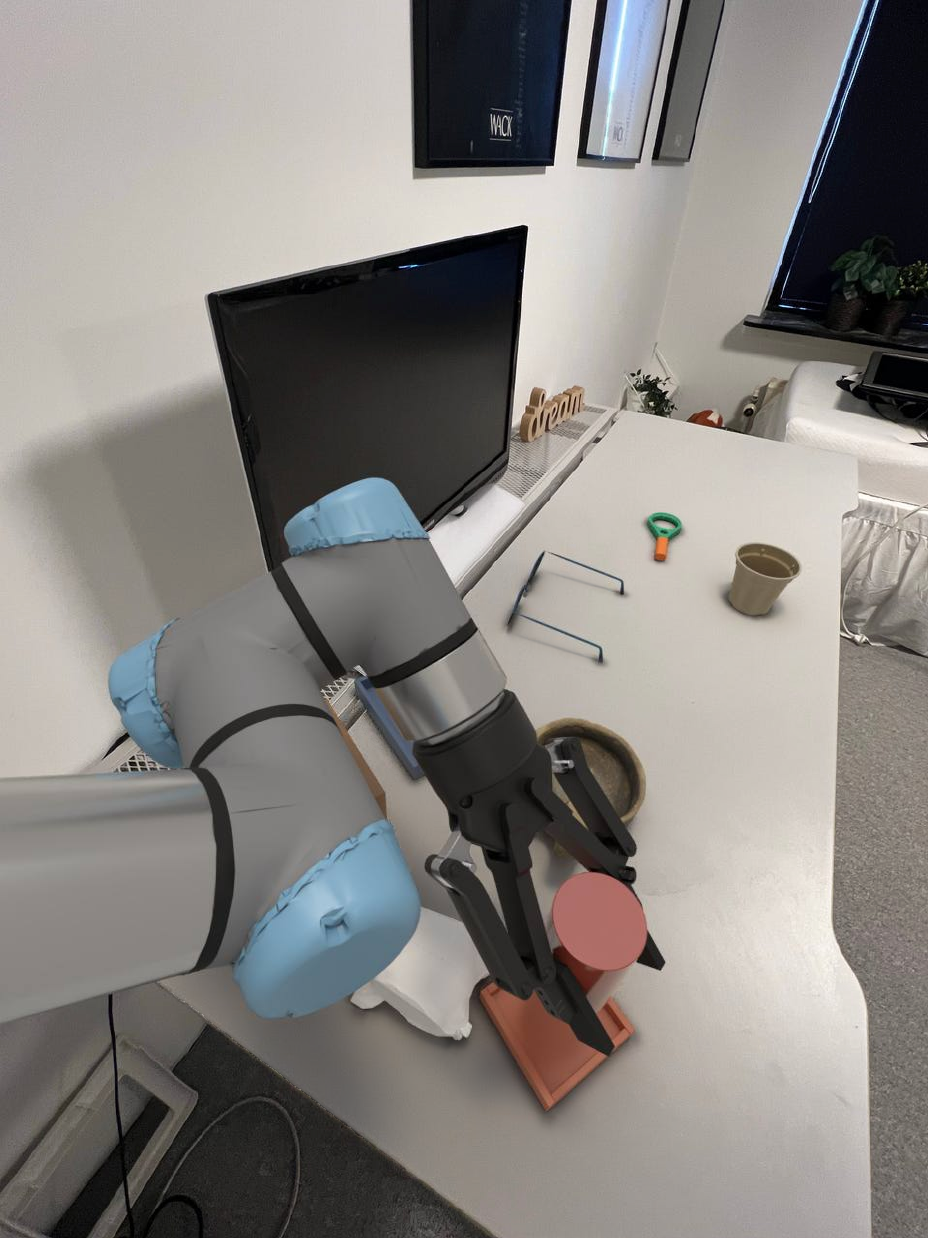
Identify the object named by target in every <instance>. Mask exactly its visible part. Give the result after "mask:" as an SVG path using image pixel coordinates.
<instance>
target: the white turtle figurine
mask: <svg viewBox="0 0 928 1238" xmlns="http://www.w3.org/2000/svg"><path fill="white" fill-rule="evenodd" d="M488 976H490V974H489V972H488V970H487V968H486V966H485V964H484V962H483V960H482V958H481V956H480V955H479V953H478V951H477V949H476V947H475V945H474V943H473V941H472V939H471V937H470V935H469V933H468V931H467V929H466V927H465V925H464V923H463V922H462V920H458V919H456V918H453V917H450V916H447V915H445V914H442V913H439V912H437V911H435V910H432V909H428V908H426V907H423V906H421V912H420V919H419V923H418V926H417V928H416V931H415V933H414V935H413V936H412V938H411V939H410V941H409V942H408V943H407V945H406V946H405V947H404V948H403V950H402V951H401V953H400V954H399V955H398V956H397V958H396V959H395V960H394V961H393V962H392V963H391V964H390V965H389V966H388V967H387V968H386V969H385V970H383V971H382V972H381V973H380V974H379V975H377V976H376V977H375V978H374V979H372V980H371V981H370V982H368V983H367V984H365V985H364V986H362V987H361V988H359V989H358V990H356V991H355V992H353V993H352V996H351V998H350V1002H351V1003H352V1004H354V1005H355V1006H357V1007H358V1008H360V1009H363V1010H366V1009H373V1008H375V1007H377V1006H379V1005H380V1004H382V1002H386V1003H388V1005H390V1006H391V1007H392V1008H394V1009H395V1010H397V1011H398V1012H399V1014H400V1015H401V1016H403V1017H404V1018H405V1019H406V1021H407V1022H408V1023H409V1024H411V1026H415V1027H416V1028H417V1029H419V1030H421V1031H423V1032H425V1033H428V1034H430V1035H433V1036H436V1037H446V1038H447V1037H449V1038H450V1037H452V1038H453V1039H454V1040H455V1041H457V1040H458V1041H460V1040H462V1038H463V1037H464V1038H468V1037H469V1035H470V1033H471V1031H472V1028H473V1024H472V1023H470V1021H469V1019H470V1016H469V1015H470V998H471V997H472V994H473V990H474V989H475V986H476V985H477V984H478V983H479V982H480V981H481V980H483V979H485V978H487V977H488Z"/></svg>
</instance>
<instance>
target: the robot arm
mask: <svg viewBox="0 0 928 1238" xmlns="http://www.w3.org/2000/svg"><path fill="white" fill-rule="evenodd" d="M283 536H284V538H285V541H286V543H287V546H288V552H289V554H290V555H291V557H289V558H287V559H286V560H284V561H282V562H281V565H280V566H278V567H276V568H273V570H270V571H268V572H266V573H265V574H262V575H260V576H259V577H256V578H255V579H253V580H251V581H249V582H247V583H246V584H243V585H242V586H240V587H237V588H235V589H233V590H232V591H230V592H228V593H225V594H224V595H222V596H220V597H217V598H216V599H214V600H212V601H210V602H208V603H207V604H205V605H202V606H201V607H199V608H197V609H195V610H193V611H192V612H190V613H187V614H186V615H183V616H182V617H178V618H175V619H172V620H170V621H169V622H168V623H166V624H164V625H163V626H161V627H160V629H159V630H158V631H157V632H155V633H154V634H152V635H150V636H148V637H146V638H145V639H144V640H142V641H140V642H138V643H137V644H135V645H134V646H132V647H131V648H129V649H127V650H125V651H124V652H122V653H121V654H119V656H117V657H116V659H115V660H114V661H113V663H112V664H111V665H110V668H109V672H108V674H107V675H108V676H107V677H108V678H107V687H108V693H109V698H110V700H111V702H112V704H113V706H114V707H115V708H116V710H117V712H118V713H119V715H120V723H121V725H122V726H123V729H125V731H126V733H127V734H128V735H129V737H130V738H131V740H132V741H133V742H134V743H135V744H136V746H137V747H138V748H139V749H140V750H141V751H142V752H143V753H144V754H145V755H146V756H147V757H148V758H150V759H151V760H152V761H154V762H155V763H157V764H158V765H160V766H163V767H165V768H167V769H155V770H153V769H151V770H138V771H137V770H132V771H113V772H111V771H109V772H89V773H88V772H87V773H68V774H67V773H66V774H48V775H47V774H43V775H23V776H3V777H1V776H0V1026H1V1025H5V1024H8V1023H9V1024H10V1023H12V1022H15V1021H19V1020H22V1019H26V1018H30V1017H33V1016H37V1015H41V1014H44V1013H48V1012H51V1011H56V1010H59V1009H63V1008H66V1007H69V1006H73V1005H77V1004H80V1003H81V1004H82V1003H84V1002H88V1001H93V1000H96V999H99V998H102V997H106V996H111V995H113V994H117V993H121V992H124V991H127V990H131V989H135V988H138V987H142V986H145V985H150V984H152V983H156V982H160V981H163V980H167V979H171V978H175V977H179V976H186V975H189V974H193V973H196V972H200V971H203V970H209V969H215V968H216V969H217V968H221V967H226V966H230V967H231V971H232V978H233V983H235V984H236V985H238V986H239V988H240V990H241V994H242V996H243V999H244V1002H245V1004H246V1006H247V1008H248V1009H249V1010H250V1011H251V1012H252V1013H254V1014H255V1015H256V1016H257V1017H258V1018H263V1019H266V1020H276V1019H277V1020H278V1019H281V1018H284V1017H287V1018H295V1019H296V1018H299V1017H303V1016H307V1015H309V1014H312V1013H315V1012H318V1011H320V1010H322V1009H324V1008H327V1007H330V1006H331V1005H333V1004H335V1003H337V1002H339V1001H341V1000H343V999H345V998H347V997H348V996H350V995H353V994H354V992H355V991H356V990H358V989H359V988H361V987H362V986H364V985H365V984H367V983H368V982H370V981H371V980H372V979H374V978H375V977H376V976H377V975H379V974H380V973H381V972H382V971H383V970H385V969H386V968H387V967H388V966H389V965H390V964H391V963H392V962H393V961H394V960H395V959H396V958H397V956H398V955H399V954H400V953H401V951H402V950H403V948H404V947H405V946H406V945H407V943H408V942H409V941H410V939H411V938H412V936H413V935H414V933H415V931H416V928H417V926H418V923H419V919H420V912H421V907H422V906H421V898H420V893H419V890H418V888H417V886H416V883H415V881H414V878H413V876H412V874H411V871H410V869H409V866H408V864H407V861H406V858H405V857H404V854H403V852H402V850H401V847H400V844H399V842H398V840H397V837H396V833H395V832H396V831H395V828H394V826H393V825H392V823H391V822H390V821H389V819H387V820H386V819H385V817H384V815H383V813H382V811H381V810H380V808H379V806H378V804H377V802H376V800H375V798H374V796H373V794H372V792H371V790H370V788H369V787H368V785H367V783H366V781H365V779H364V777H363V775H362V773H361V771H360V769H359V767H358V765H357V764H356V762H355V760H354V758H353V756H352V754H351V752H350V750H349V748H348V746H347V744H346V742H345V740H344V739H343V735H342V733H341V731H340V730H339V728H338V726H337V723H336V721H335V719H334V717H333V715H332V713H331V711H330V709H329V707H328V705H327V703H326V701H325V699H326V698H325V697H324V695H323V693H322V690H324V689H325V688H327V687H328V686H330V685H331V684H333V683H334V682H336V681H337V680H339V679H341V678H342V677H344V676H346V675H347V674H348V673H347V672H349V671H351V670H353V669H355V668H356V667H359V668H360V669H361V670H362V671H363V673H364V674H365V676H366V675H367V677H368V679H369V681H370V683H371V684H372V686H373V687H374V689H375V691H376V693H377V695H378V696H379V698H380V700H381V701H382V703H383V705H384V706H385V708H386V710H387V711H388V713H389V715H390V716H391V718H392V720H393V722H394V723H395V725H396V727H397V728H398V730H399V732H400V733H401V735H402V737H403V738H404V739H405V740H407V741H411V742H414V743H413V749H412V754H413V756H414V757H415V759H416V761H417V762H418V764H419V766H420V768H421V769H422V771H423V773H424V774H425V775H424V776H425V778H426V780H427V781H428V783H429V785H430V786H431V788H432V790H433V791H434V793H435V795H436V796H437V797H438V798H439V800H440V801H441V802H442V804H443V805H444V807H445V808H446V811H447V815H448V825H449V829H450V832H451V834H450V836H449V837H448V839H447V840H446V842H445V844H444V846H443V847H442V849H441V851H440V852H439V854H434V853H433V854H429V855H428V856H427V857H426V859H425V861H424V871H425V872H426V874H427V875H428V876H429V877H431V878H432V879H433V880H434V881H435V882H437V883H438V884H439V885H440V886H441V887H442V888H443V889H444V890H446V892H447V894H448V897H449V899H450V900H451V902H452V904H453V907H454V908H455V910H456V912H457V914H458V915H459V918H460V919H461V920H460V921H461V922H463V923H464V925H465V927H466V929H467V931H468V933H469V935H470V937H471V939H472V941H473V943H474V945H475V947H476V949H477V951H478V953H479V955H480V956H481V958H482V960H483V962H484V964H485V966H486V968H487V970H488V972H489V974H490V975H489V976H490V978H491V979H492V982H494V984H495V985H496V986H497V987H498V988H500V989H502V990H504V991H506V992H508V993H510V994H512V995H514V996H516V997H518V998H520V999H521V1000H524V1001H525V1000H528V999H529V998H530V997H531V996H532V994H533V990H534V991H535V993H536V995H537V996H538V998H539V1000H540V1001H541V1003H542V1005H543V1006H544V1008H545V1010H546V1011H547V1013H548V1014H550V1015H551V1016H553V1017H555V1018H557V1019H559V1020H561V1021H563V1022H565V1023H566V1024H569V1026H570V1027H571V1029H572V1031H573V1032H574V1034H575V1036H576V1037H577V1039H578V1041H580V1042H582V1043H584V1044H586V1045H588V1046H590V1047H591V1048H593V1049H595V1050H597V1051H599V1052H601V1053H603V1054H604V1055H606V1056H608V1057H610V1056H611V1054H612V1053H613V1052H614V1051H613V1049H614V1047H615V1045H614V1044H613V1042H612V1040H611V1039H610V1037H609V1035H608V1033H607V1032H606V1030H605V1028H604V1027H603V1025H602V1023H601V1021H600V1020H599V1018H598V1016H597V1015H596V1013H595V1011H594V1009H593V1008H592V1006H591V1004H590V1003H589V1001H588V999H587V997H586V996H585V994H584V992H583V991H582V989H581V987H580V985H579V984H578V982H577V980H576V979H575V977H574V975H573V973H572V972H571V970H570V968H569V967H568V966H567V965H565V964H563V963H560V962H558V961H555V960H554V959H553V956H552V952H551V948H550V944H549V941H548V937H547V933H546V929H545V923H544V919H543V915H542V911H541V907H540V904H539V900H538V896H537V893H536V888H535V885H534V881H533V878H532V873H531V869H532V868H533V865H534V863H533V859H532V856H531V852H530V848H529V847H530V846H531V844H532V843H533V840H534V839H535V837H536V835H537V834H538V833H539V832H541V831H542V830H543V831H544V832H545V833H546V834H548V836H550V838H552V839H553V840H554V842H555V841H556V842H557V843H558V844H559V845H561V846H562V847H563V848H564V849H565V850H566V851H567V852H568V853H569V854H570V855H571V856H572V857H573V858H575V859H576V860H575V861H576V862H578V864H580V865H581V867H583V868H584V869H585V870H586V871H587V872H596V873H602V874H605V875H608V876H611V877H613V878H615V879H616V880H618V881H620V882H621V883H623V884H624V885H625V886H626V887H627V888H628V889H629V890H630V891H631V892H632V893H633V894H634V895H635V897H636V898H637V900H638V901H639V903H640V905H641V907H642V909H643V912H644V907H643V903H642V902H641V899H640V898H639V897H638V894H637V893H636V891H635V889H634V887H633V885H634V884H635V882H636V880H637V877H638V876H637V875H638V874H637V871H636V868H635V867H634V866H629V865H627V864H628V860H629V858H634V857H635V855H636V854H637V849H638V845H637V843H636V841H635V840H634V838H633V836H632V835H631V833H630V832H629V830H628V827H627V828H626V827H625V825H624V823H623V822H622V820H621V819H620V817H619V815H618V814H617V812H616V811H615V809H614V807H613V806H612V804H611V803H610V801H609V799H608V798H607V796H606V795H605V793H604V791H603V790H602V788H601V787H600V785H599V783H598V782H597V780H596V779H595V777H594V775H593V774H592V772H591V771H590V769H589V767H588V765H587V762H586V758H585V755H584V752H583V748H582V745H581V742H580V740H579V739H578V738H576V737H565V738H549V739H548V740H547V742H546V746H542V745H540V744H539V743H538V742H537V733H536V729H535V727H534V725H533V723H532V721H531V720H530V718H529V716H528V714H527V712H526V711H525V709H524V707H523V705H522V704H521V702H520V699H519V698H518V697H517V694H516V693H515V692H514V691H512V690H509V689H506V687H507V686H506V685H507V683H508V679H507V675H506V673H505V672H504V670H503V668H502V667H501V665H500V663H499V662H498V659H497V657H496V656H495V654H494V652H493V651H492V649H491V648H490V646H489V644H488V642H487V641H486V639H485V637H484V635H483V634H482V632H481V629H480V628H479V627H477V625H476V623H475V621H474V619H473V618H472V617H471V613H470V612H469V610H468V608H467V607H466V605H465V603H464V601H463V599H462V597H461V595H460V594H459V592H458V590H457V588H456V586H455V584H454V583H453V581H452V579H451V577H450V575H449V573H448V571H447V570H446V568H445V566H444V564H443V562H442V560H441V558H440V557H439V555H438V553H437V551H436V549H435V547H434V545H433V544H432V542H431V540H430V539H431V536H430V535H429V532H428V531H426V530H425V529H424V528H423V526H422V525H421V523H420V521H419V520H418V518H417V516H416V515H415V513H414V512H413V511H412V509H411V506H409V504H408V503H407V501H406V500H405V498H404V497H403V494H402V493H401V492H400V490H399V489H398V488H397V486H396V485H395V484H394V483H393V482H392V481H390V480H388V479H385V478H383V477H374V476H373V477H366V478H364V479H360V480H358V481H354V482H352V483H350V484H347V485H345V486H342V487H340V488H339V489H335V490H334V491H332V492H330V493H328V494H326V495H324V496H323V497H321V498H320V499H318V500H317V501H316V502H314V503H313V504H311V505H309V506H306V507H305V508H303V509H302V510H300V511H299V512H298V513H296V514H295V515H294V516H293V517H292V518H291V519H289V520H288V522H287V523H286V525H285V527H284V530H283ZM552 772H553V773H554V775H555V777H556V779H557V781H558V783H559V784H560V786H561V787H562V789H563V791H564V792H565V794H566V795H567V797H568V798H569V800H570V802H571V803H572V805H573V806H574V808H575V809H576V811H577V812H578V814H579V816H580V817H581V819H582V820H583V822H584V823H585V825H586V827H587V828H588V829H587V828H586V827H585V826H583V825H582V824H581V823H580V822H579V821H578V820H577V819H576V818H575V817H574V816H573V815H572V813H573V811H572V809H571V808H570V807H568V806H567V805H566V804H565V803H564V802H563V801H562V800H561V799H560V798H559V797H558V796H557V795H556V794H555V793H554V792H553V790H552ZM471 845H473V846H477V847H480V849H481V853H482V856H483V860H484V863H485V866H486V867H487V868H488V870H489V871H490V872H491V874H492V877H493V882H494V885H495V890H496V894H497V896H498V901H499V904H500V908H501V911H502V915H503V919H504V923H505V925H504V923H503V921H502V918H501V917H500V914H499V912H498V911H497V909H496V907H495V904H494V903H493V901H492V899H491V897H490V895H489V893H488V891H487V889H486V887H485V886H484V884H483V883H482V881H481V880H480V878H478V876H477V875H476V874H475V873H476V872H477V868H478V867H477V864H476V863H475V862H474V860H473V858H472V856H471V854H470V853H471V852H470V847H471ZM644 913H645V912H644ZM666 963H667V962H666V960H665V958H664V956H663V955H662V953H661V951H660V950H659V948H658V946H657V944H656V942H655V940H654V938H653V937H652V935H651V933H650V931H649V930H648V929H647V939H646V944H645V947H644V949H643V951H642V953H641V955H640V956H639V958H638V959H637V961H636V962H635V964H639V965H642V966H645V967H648V968H651V969H654V970H656V971H660V972H661V971H662V969H663V968H664V966H665V965H666ZM612 1051H613V1052H612ZM611 1052H612V1053H611ZM608 1057H607V1058H608Z"/></svg>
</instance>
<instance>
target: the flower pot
mask: <svg viewBox="0 0 928 1238" xmlns="http://www.w3.org/2000/svg"><path fill="white" fill-rule="evenodd" d="M734 556H735V569H734V572H733V573H734V574H733V577H732V581H731V586H730V590H729V593H728V602H729V603H730V604H731V605H732V606H733V608H734V610H737V611H738V612H740V613H742V614H745V615H749V616H754V617H755V616H758V615H765V614H767V613H769V611H770V609H771V608H772V606H773V605H774V604H775V602H776V601H777V600H778V598H779V597H780V595H781V594H782V593H783V592H784V590H785V589H786V587H787V586H788V585H789V584H790V583H791V582H793V580H794V579H796V578H797V577H798V576H800V575H801V573H802V570H803V568H802V567H803V566H802V563H801V562H800V561H799V559H798V558H797V557H796V556H795V555H793V554H792V553H791V552H789V551H788V550H786V549H784V548H782V547H780V546H776V545H774V544H770V543H765V542H756V541H755V542H745V543H742V544H741V545H739V546H738V547H737V548H736V550H735V554H734Z"/></svg>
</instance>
